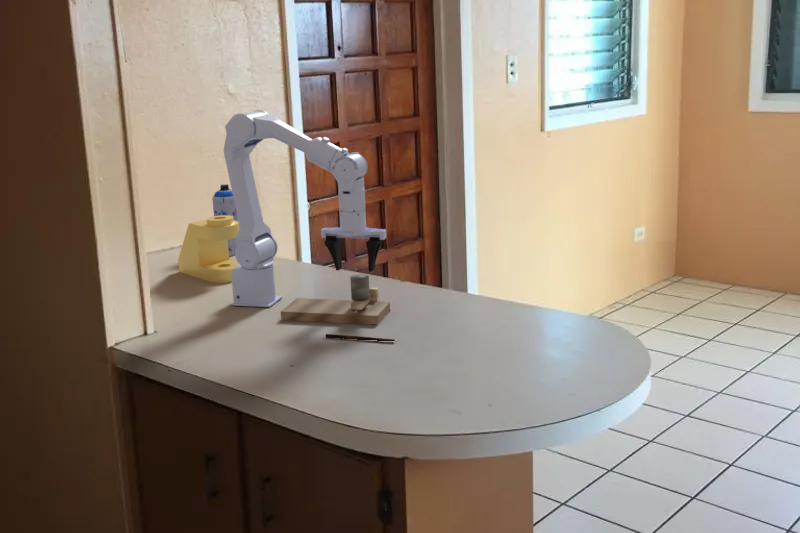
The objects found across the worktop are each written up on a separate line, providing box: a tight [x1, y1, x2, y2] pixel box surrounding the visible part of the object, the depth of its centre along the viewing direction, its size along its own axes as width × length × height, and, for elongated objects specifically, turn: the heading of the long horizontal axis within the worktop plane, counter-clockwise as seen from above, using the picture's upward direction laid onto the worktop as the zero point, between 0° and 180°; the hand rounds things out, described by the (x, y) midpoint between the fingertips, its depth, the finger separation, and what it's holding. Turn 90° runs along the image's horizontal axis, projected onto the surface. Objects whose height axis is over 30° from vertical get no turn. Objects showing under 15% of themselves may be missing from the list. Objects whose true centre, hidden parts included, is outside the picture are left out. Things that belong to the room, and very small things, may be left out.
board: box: [280, 297, 391, 325], centre depth 188 cm, size 22×10×2 cm, turn 76°
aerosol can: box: [212, 184, 240, 257], centre depth 247 cm, size 8×8×20 cm
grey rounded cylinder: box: [349, 273, 380, 310], centre depth 188 cm, size 5×9×8 cm, turn 165°
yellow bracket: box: [177, 215, 240, 284], centre depth 225 cm, size 20×9×16 cm, turn 44°
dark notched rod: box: [325, 333, 396, 342], centre depth 172 cm, size 15×1×1 cm, turn 71°
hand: (355, 269), depth 190 cm, fingers open, 7 cm apart
